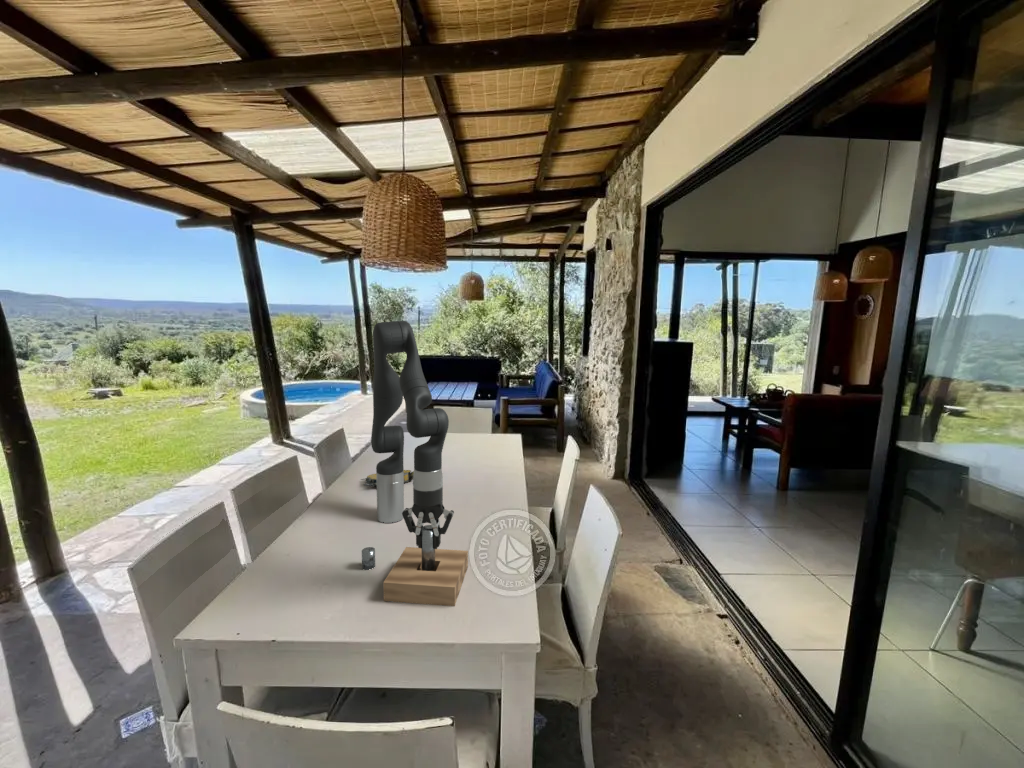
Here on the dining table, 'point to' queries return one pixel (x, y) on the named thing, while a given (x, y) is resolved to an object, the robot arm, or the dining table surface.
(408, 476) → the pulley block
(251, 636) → the dining table surface
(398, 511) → the robot arm
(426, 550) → the long pin
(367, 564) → the short pin
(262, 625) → the dining table surface
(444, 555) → the block
